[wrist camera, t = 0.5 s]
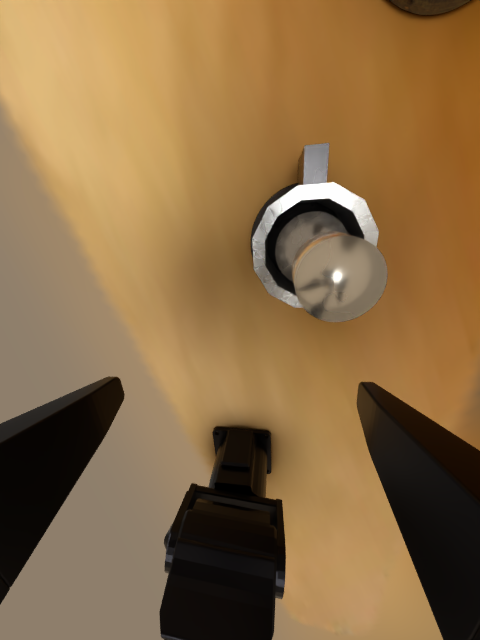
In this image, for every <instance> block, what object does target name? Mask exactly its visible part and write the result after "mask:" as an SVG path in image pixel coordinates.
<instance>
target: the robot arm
mask: <svg viewBox="0 0 480 640" xmlns="http://www.w3.org/2000/svg"><path fill="white" fill-rule="evenodd" d="M123 400H124V391H123V387H122V384H121V381H120V379H119V378H118V377H106V378H104V379H102V380H99V381H97V382H95V383H92V384H90V385H88V386H85V387H83V388H81V389H79V390H76V391H74V392H72V393H69V394H67V395H65V396H63V397H60V398H58V399H56V400H54V401H51V402H49V403H47V404H44V405H42V406H40V407H37V408H35V409H33V410H31V411H28V412H26V413H24V414H22V415H19V416H17V417H15V418H12V419H10V420H8V421H6V422H3V423H1V424H0V604H1V602H2V601H3V599H4V598H5V596H6V595H7V593H8V591H9V589H10V587H11V586H12V584H13V583H14V581H15V579H16V578H17V577H18V575H19V573H20V572H21V570H22V568H23V567H24V565H25V564H26V562H27V560H28V559H29V557H30V556H31V554H32V553H33V551H34V549H35V548H36V546H37V545H38V543H39V541H40V540H41V538H42V537H43V535H44V533H45V532H46V530H47V529H48V527H49V525H50V524H51V522H52V520H53V519H54V517H55V516H56V514H57V512H58V511H59V509H60V507H61V506H62V504H63V503H64V501H65V500H66V498H67V496H68V495H69V493H70V492H71V490H72V488H73V487H74V485H75V484H76V482H77V481H78V479H79V477H80V476H81V474H82V473H83V471H84V469H85V468H86V466H87V465H88V463H89V461H90V459H91V458H92V457H93V455H94V453H95V452H96V450H97V449H98V447H99V445H100V444H101V442H102V440H103V439H104V437H105V435H106V433H107V432H108V430H109V428H110V426H111V424H112V422H113V420H114V418H115V416H116V414H117V412H118V410H119V408H120V406H121V404H122V402H123ZM357 409H358V413H359V417H360V420H361V424H362V428H363V431H364V435H365V439H366V442H367V446H368V449H369V452H370V455H371V458H372V461H373V463H374V466H375V468H376V471H377V473H378V476H379V478H380V481H381V483H382V486H383V488H384V491H385V493H386V496H387V498H388V501H389V503H390V506H391V509H392V511H393V514H394V516H395V519H396V521H397V524H398V526H399V529H400V531H401V534H402V536H403V539H404V541H405V544H406V546H407V549H408V551H409V554H410V556H411V559H412V561H413V564H414V566H415V569H416V572H417V574H418V577H419V579H420V582H421V584H422V587H423V589H424V592H425V594H426V597H427V599H428V602H429V604H430V607H431V609H432V612H433V615H434V617H435V620H436V622H437V625H438V627H439V629H440V632H441V635H442V637H443V640H480V451H479V450H478V449H476V448H475V447H473V446H472V445H470V444H468V443H467V442H465V441H464V440H462V439H461V438H459V437H458V436H456V435H454V434H453V433H451V432H450V431H448V430H447V429H445V428H444V427H442V426H440V425H439V424H437V423H436V422H434V421H433V420H431V419H430V418H428V417H426V416H425V415H423V414H422V413H420V412H419V411H417V410H416V409H414V408H412V407H411V406H409V405H408V404H406V403H405V402H403V401H402V400H400V399H398V398H397V397H395V396H394V395H392V394H391V393H389V392H388V391H386V390H384V389H383V388H381V387H380V386H378V385H377V384H375V383H373V382H360V383H359V387H358V395H357ZM265 435H267V436H265ZM213 439H214V446H215V453H216V459H215V463H214V467H213V471H212V475H211V479H210V483H209V487H204V486H198V485H197V484H193V483H192V484H191V486H190V488H189V491H187V492H186V494H185V497H184V499H183V502H182V504H181V506H180V508H179V511H178V513H177V516H176V518H175V520H174V522H173V524H172V526H171V527H170V529H169V531H168V532H167V534H166V536H165V539H164V545H165V548H166V559H165V572H166V573H169V575H168V579H167V583H166V587H165V591H164V596H163V600H162V604H161V608H160V629H161V637H162V638H163V639H164V640H272V637H273V633H274V617H275V616H274V615H275V598H279V599H282V598H283V594H284V585H285V564H286V553H285V534H284V521H283V507H282V500H280V499H276V500H274V499H269V498H266V476H267V474H270V473H271V433H270V432H269V431H264V430H249V429H234V428H219V427H216V428H214V430H213Z"/></svg>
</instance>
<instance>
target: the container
mask: <svg viewBox="0 0 480 640" xmlns="http://www.w3.org/2000/svg"><path fill="white" fill-rule="evenodd" d="M390 1H391V2H392V3H393V4H395V5H396V6H398V7H400V8H401V9H403V10H407V11H409V12H411V13H415V14H420V15H434V14H440V13H444V12H448V11H451V10H453V9H456V8H458V7H460V6H462V5H464V4H465V3H467V2H469V1H471V0H390Z"/></svg>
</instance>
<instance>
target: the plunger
mask: <svg viewBox="0 0 480 640" xmlns="http://www.w3.org/2000/svg"><path fill="white" fill-rule="evenodd" d="M275 255H276V261H277V264H278V267H279V268H280V270H281V272H282V273H283V274H284V275H285V276H286V277H287V278H288V279H289V280H291V281H293V283H294V287H295V291H296V295H297V298H298V300H299V302H300V304H301V305H302V307H303V308H304V309H305V310H306V311H307V312H308V313H309V314H310V315H312V316H314V317H316V318H318V319H320V320H323V321H328V322H343V321H348V320H352V319H354V318H357V317H359V316H361V315H363V314H364V313H366V312H367V311H369V310H370V309H371V308H372V307H373V306H374V305H375V304H376V303H377V302H378V300H379V299H380V297H381V296H382V294H383V292H384V289H385V287H386V283H387V265H386V262H385V259H384V257H383V255H382V253H381V252H380V251H379V250H378V248H376V247H375V246H374V245H373V244H372V243H370V242H369V241H367V240H364V239H362V238H359V237H355V236H352V235H349V234H348V233H347V231H346V229H345V227H344V225H343V224H342V223H341V222H340V221H339V220H338V219H337V218H335V217H334V216H332V215H330V214H328V213H324V212H306V213H303V214H300V215H298V216H296V217H294V218H293V219H291V220H290V221H289V222H288V223H287V224H286V225H285V226H284V227H283V229H282V230H281V232H280V234H279V236H278V239H277V242H276V249H275Z"/></svg>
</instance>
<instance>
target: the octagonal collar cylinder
mask: <svg viewBox="0 0 480 640" xmlns="http://www.w3.org/2000/svg"><path fill="white" fill-rule="evenodd" d="M328 156H329V143H324V144H315V145H306V146H304V148H303V151H302V153H301V156H300V158H299V164H298V183H296V184H292V185H290V186H288V187H285V188H283V189H282V190H280V191H279V192H277V193H276V194H275V195H273V196H272V197H271V198H270V199H269V200H268V201H267V202H266V203H265V205H264V206H263V207H262V209H261V210H260V212H259V214H258V215H257V217H256V220H255V222H254V225H253V229H252V234H251V252H252V256H253V265H254V271H255V272H256V274H257V276H258V277H259V279H260V280H261V282H262V283H263V285H264V287H265V288H266V290H267V291H268V293H269V294H270V295H272V296H274V297H276V298H277V299H279V300H281V301H283V302H285V303H287V304H289V305H291V306H293V307H295V308H303V307H302V305H301V304H300V302H299V300H298V298H297V295H296V291H295V287H294V283H293V281H291V280H289V279H288V278H287V277H286V276H285V275H284V274H283V273H282V272H281V270H280V268H279V267H278V264H277V261H276V255H275V249H276V242H277V239H278V236H279V234H280V232H281V230H282V229H283V227H284V226H285V225H286V224H287V223H288V222H289V221H290V220H291V219H293V218H294V217H296V216H298V215H300V214H303V213H306V212H324V213H328V214H330V215H332V216H334V217H335V218H337V219H338V220H339V221H340V222H341V223H342V224H343V225H344V227H345V229H346V231H347V233H348V234H349V235H352V236H355V237H359V238H362V239H364V240H367V241H369V242H370V243H372V244H373V245H374V246H375V247H377V241H378V234H379V230H378V228H377V226H376V224H375V222H374V219H373V217H372V215H371V213H370V210H369V208H368V206H367V204H366V201H365V200H364V199H362V198H361V197H359V196H357V195H355V194H354V193H352V192H350V191H348V190H347V189H345V188H343V187H341V186H340V185H338V184H336V183H327V171H328Z"/></svg>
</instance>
